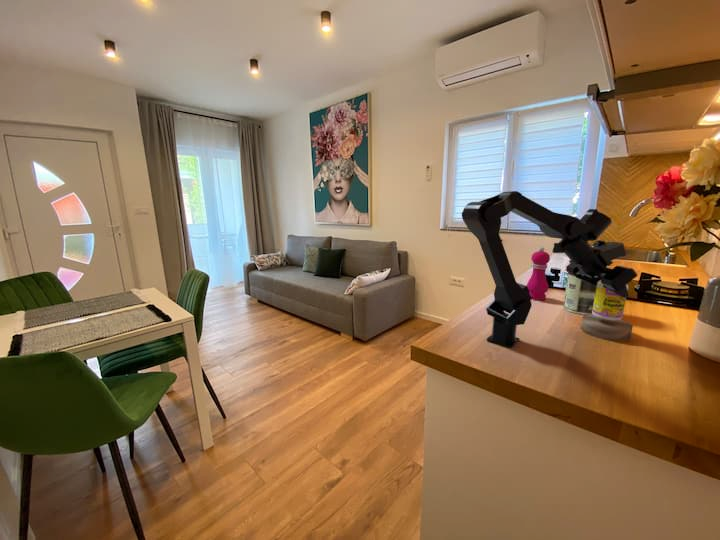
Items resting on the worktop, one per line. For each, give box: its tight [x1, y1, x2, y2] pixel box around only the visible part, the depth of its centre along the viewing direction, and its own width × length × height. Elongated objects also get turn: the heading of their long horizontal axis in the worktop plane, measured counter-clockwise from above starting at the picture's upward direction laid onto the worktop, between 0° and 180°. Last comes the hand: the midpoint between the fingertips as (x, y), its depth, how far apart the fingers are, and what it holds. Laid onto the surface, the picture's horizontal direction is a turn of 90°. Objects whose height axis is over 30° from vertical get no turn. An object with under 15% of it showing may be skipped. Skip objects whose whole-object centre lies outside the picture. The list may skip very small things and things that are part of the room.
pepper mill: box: [526, 246, 551, 301], centre depth 113 cm, size 7×7×20 cm
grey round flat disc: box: [580, 315, 633, 342], centre depth 84 cm, size 11×11×4 cm
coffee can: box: [562, 272, 603, 316], centre depth 100 cm, size 10×10×14 cm
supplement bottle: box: [592, 280, 629, 321], centre depth 82 cm, size 7×7×13 cm
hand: (616, 292), depth 82 cm, fingers closed on supplement bottle, 7 cm apart
